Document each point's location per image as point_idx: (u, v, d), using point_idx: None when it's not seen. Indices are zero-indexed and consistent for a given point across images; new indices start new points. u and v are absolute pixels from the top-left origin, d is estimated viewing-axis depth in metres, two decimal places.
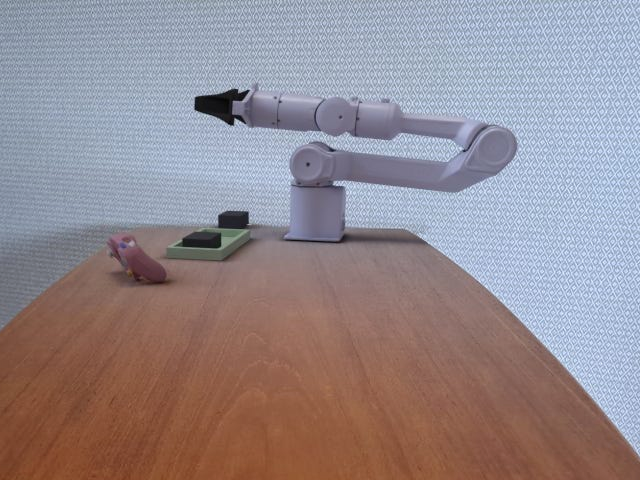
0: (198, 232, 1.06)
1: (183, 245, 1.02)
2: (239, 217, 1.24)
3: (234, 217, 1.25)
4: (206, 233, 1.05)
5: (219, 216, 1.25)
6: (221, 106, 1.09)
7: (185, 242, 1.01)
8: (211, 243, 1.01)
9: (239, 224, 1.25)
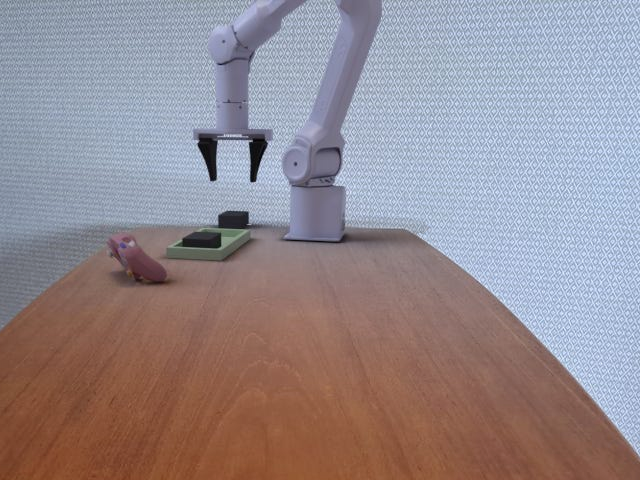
0: (198, 232, 1.06)
1: (183, 245, 1.02)
2: (239, 217, 1.24)
3: (234, 217, 1.25)
4: (206, 233, 1.05)
5: (219, 216, 1.25)
6: None
7: (185, 242, 1.01)
8: (211, 243, 1.01)
9: (239, 224, 1.25)
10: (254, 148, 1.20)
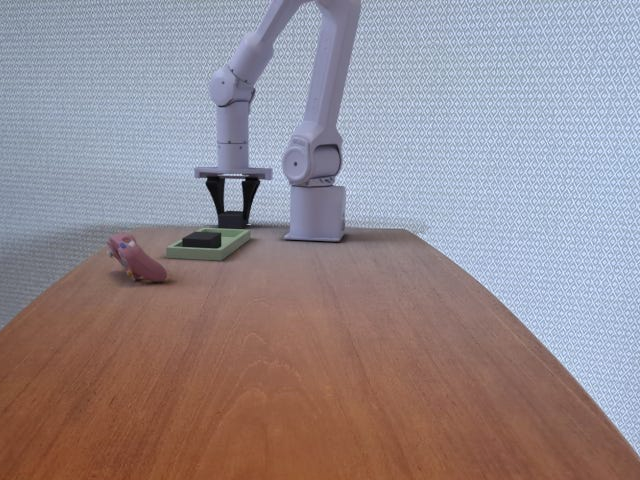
0: (198, 232, 1.06)
1: (183, 245, 1.02)
2: (239, 217, 1.24)
3: (234, 217, 1.25)
4: (206, 233, 1.05)
5: (219, 216, 1.25)
6: None
7: (185, 242, 1.01)
8: (211, 243, 1.01)
9: (239, 224, 1.25)
10: (247, 187, 1.23)
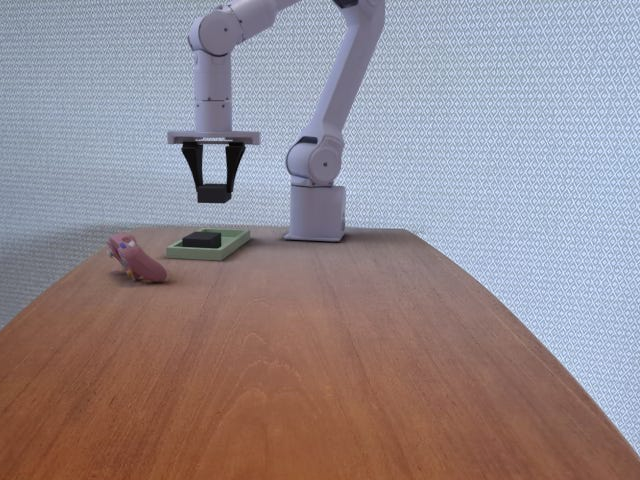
0: (198, 232, 1.06)
1: (183, 245, 1.02)
2: (222, 189, 1.05)
3: (216, 189, 1.05)
4: (206, 233, 1.05)
5: (198, 189, 1.06)
6: None
7: (185, 242, 1.01)
8: (211, 243, 1.01)
9: (222, 198, 1.06)
10: (231, 153, 1.04)
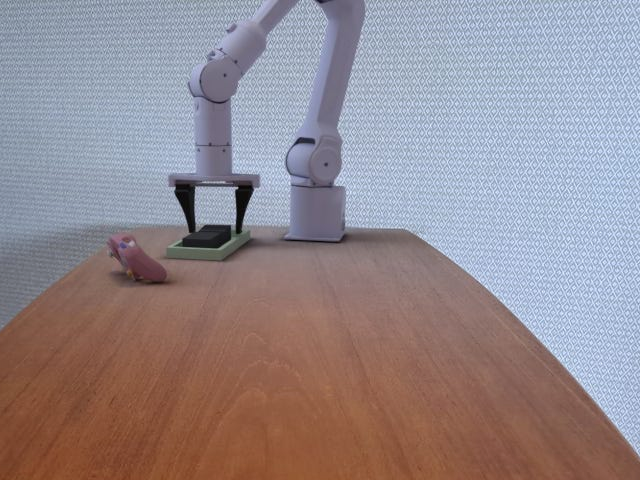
0: (198, 232, 1.06)
1: (183, 245, 1.02)
2: (223, 233, 1.07)
3: None
4: (206, 233, 1.05)
5: None
6: None
7: (185, 242, 1.01)
8: (211, 243, 1.01)
9: (223, 241, 1.08)
10: (241, 197, 1.05)
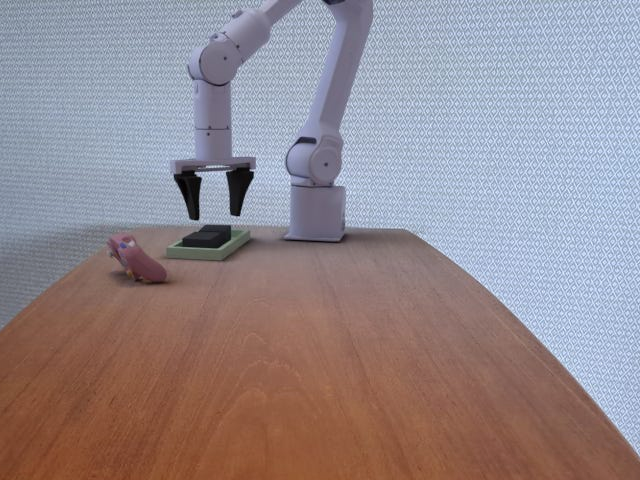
0: (198, 232, 1.06)
1: (183, 245, 1.02)
2: (223, 233, 1.07)
3: None
4: (206, 233, 1.05)
5: None
6: None
7: (185, 242, 1.01)
8: (211, 243, 1.01)
9: (223, 241, 1.08)
10: (247, 178, 1.08)
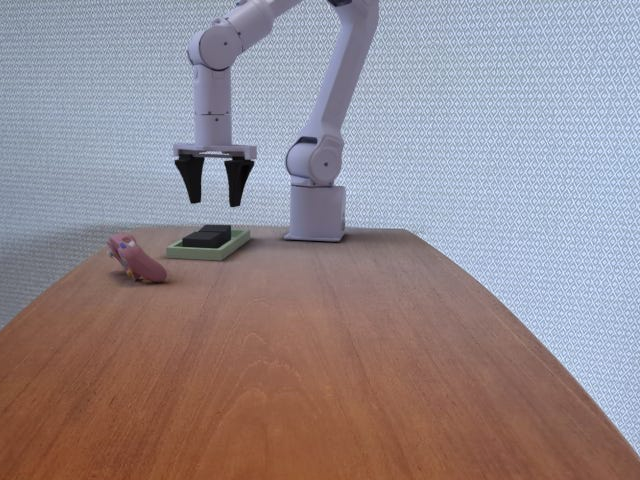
0: (198, 232, 1.06)
1: (183, 245, 1.02)
2: (223, 233, 1.07)
3: None
4: (206, 233, 1.05)
5: None
6: None
7: (185, 242, 1.01)
8: (211, 243, 1.01)
9: (223, 241, 1.08)
10: None
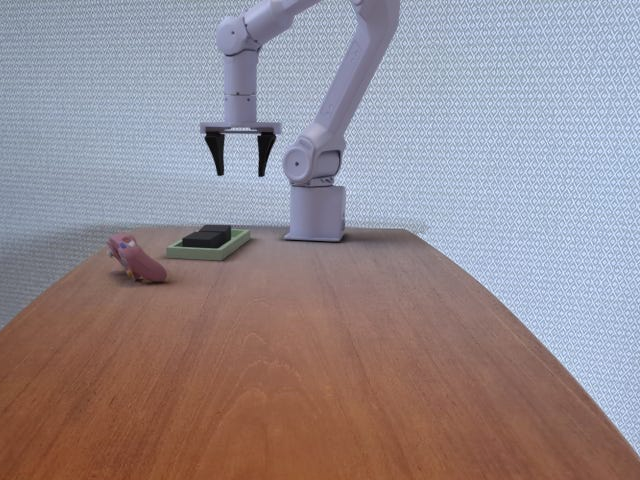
0: (198, 232, 1.06)
1: (183, 245, 1.02)
2: (223, 233, 1.07)
3: None
4: (206, 233, 1.05)
5: None
6: None
7: (185, 242, 1.01)
8: (211, 243, 1.01)
9: (223, 241, 1.08)
10: None
